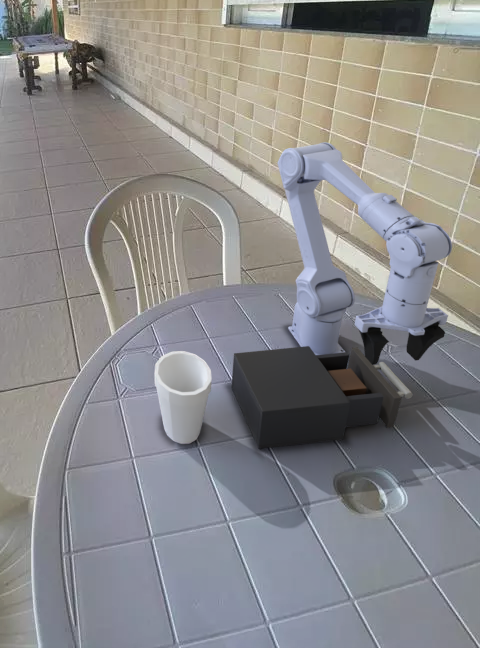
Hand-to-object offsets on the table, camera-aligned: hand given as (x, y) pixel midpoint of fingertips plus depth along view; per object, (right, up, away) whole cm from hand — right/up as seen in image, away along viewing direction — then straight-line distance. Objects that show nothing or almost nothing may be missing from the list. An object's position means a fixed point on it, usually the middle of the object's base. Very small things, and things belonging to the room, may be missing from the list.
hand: (391, 358), depth 74 cm
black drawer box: (-18, -11, +3) cm, 21 cm away
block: (-7, -8, +3) cm, 11 cm away
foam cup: (-37, -13, +2) cm, 39 cm away
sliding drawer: (-6, -9, +3) cm, 12 cm away
